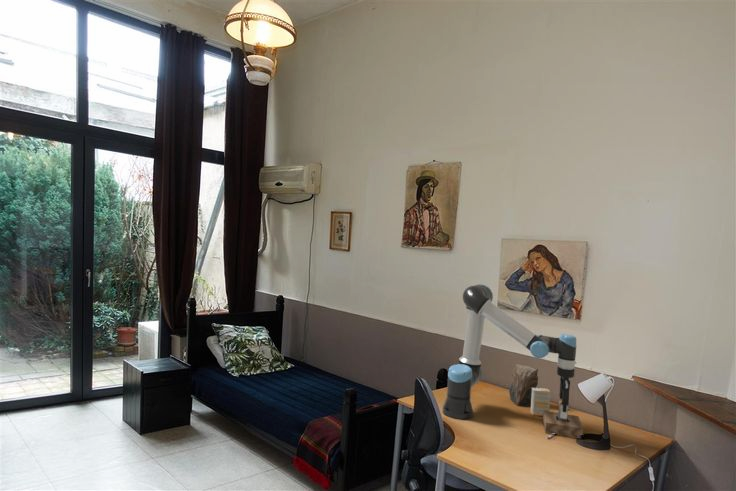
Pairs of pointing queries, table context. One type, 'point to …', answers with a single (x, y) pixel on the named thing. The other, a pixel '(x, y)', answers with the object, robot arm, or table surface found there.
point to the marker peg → (560, 412)
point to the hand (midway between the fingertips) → (562, 415)
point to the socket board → (562, 425)
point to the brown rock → (523, 384)
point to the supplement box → (540, 401)
